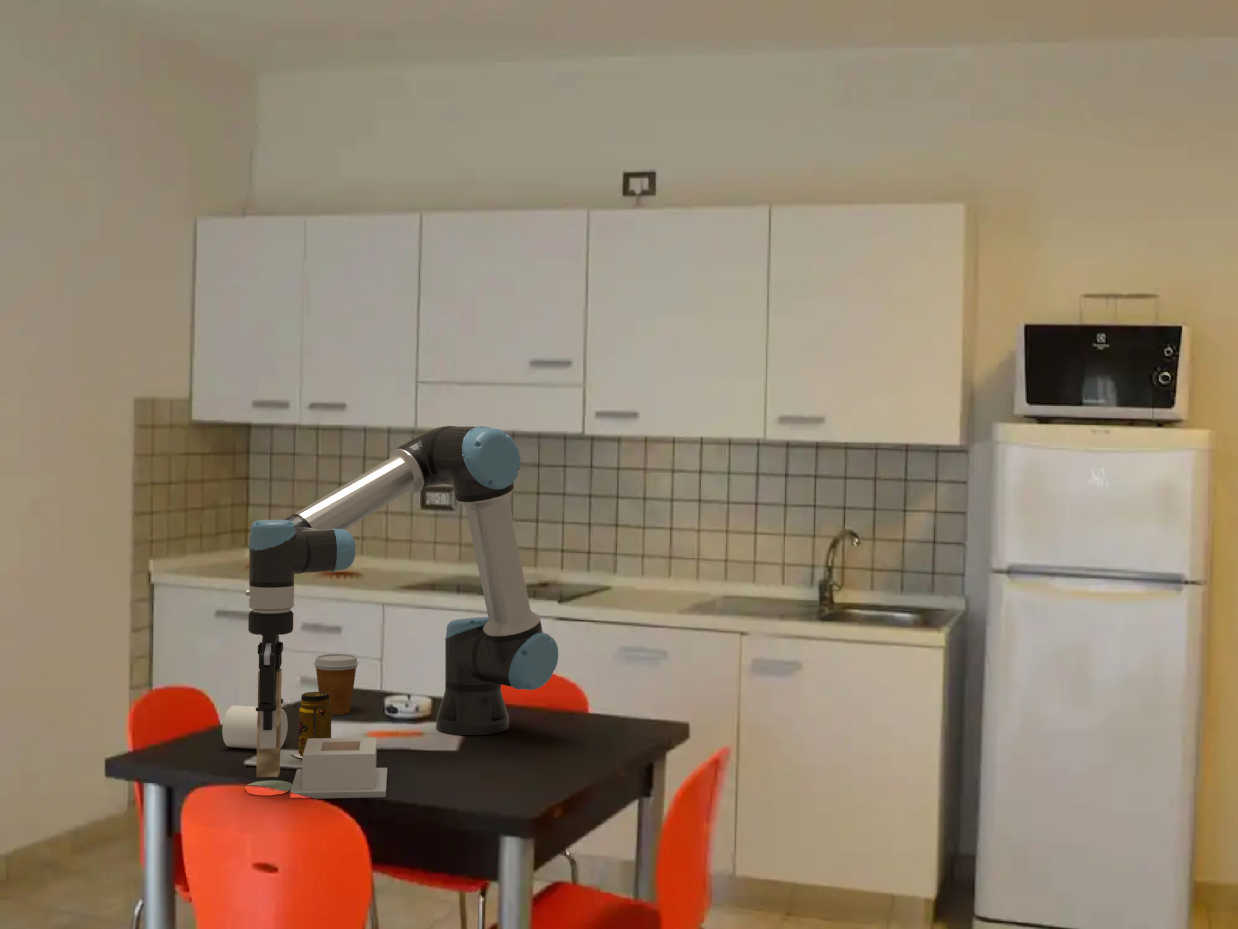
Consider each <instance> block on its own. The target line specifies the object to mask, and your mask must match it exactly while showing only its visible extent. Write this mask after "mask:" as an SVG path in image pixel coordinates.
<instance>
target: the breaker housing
mask: <svg viewBox="0 0 1238 929" xmlns="http://www.w3.org/2000/svg"><path fill="white" fill-rule="evenodd" d="M377 742H378V741H377V737H331V738H310V739H308V740H307V743H306V746H305V749H304V753H303V760H302V768H297V769H296V772H295V775H294V779H293V781H292V783H291V784H292V787H291V791H290V792H292V793H295V794H299V795H303V796H307V797H312V798H314V799H351V798H352V799H356V798H357V799H358V798H359V799H361V798H362V799H363V798H364V799H365V798H386V796H387V782H388V781H387V780H388V767H377V749H378V748H377ZM290 792H289V793H290Z"/></svg>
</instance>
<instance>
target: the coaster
mask: <svg viewBox="0 0 1238 929" xmlns="http://www.w3.org/2000/svg"><path fill="white" fill-rule="evenodd" d="M292 784H293V783H292V782H289V781H285V780H275V779H273V780H271V779H270V780H261V781H253V782H251V783H249V784H247V785H258V786H265V787H270V788H275V789H278V790H282V791H291V787H292Z"/></svg>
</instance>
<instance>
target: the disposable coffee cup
mask: <svg viewBox="0 0 1238 929" xmlns="http://www.w3.org/2000/svg"><path fill="white" fill-rule="evenodd" d="M313 665H314V667H315V670H316V680H317V688H318V691H317V692H326V693H328V694H329V696H330V697H329V701H330V704H329V706H330V708H331V716H336V715H337V716H338V715H340V716H341V715H345V714H346V715H347V714H349V713H351V707H352V701H353V694H354V686H355V680H356V679H355V678H356V671H357V667H358V666H359V661H358V659H357V656H356V655H355V654H354V655H353V654H348V653H330V654H329V653H328V654H321V655H317V656H316V658H315V660H314V662H313Z"/></svg>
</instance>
